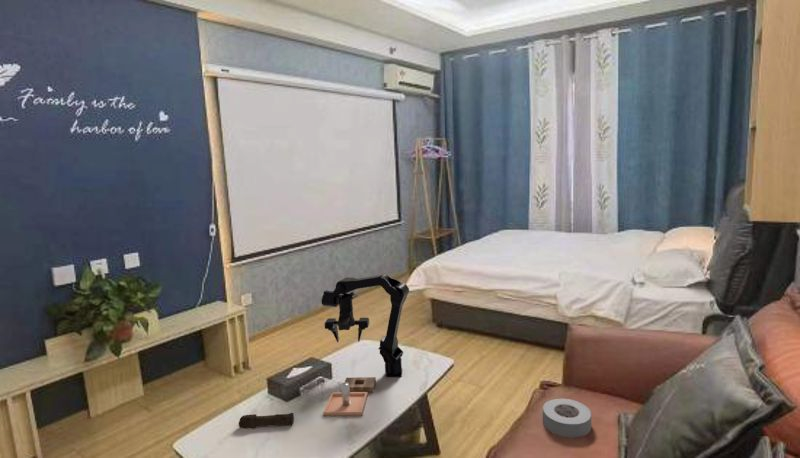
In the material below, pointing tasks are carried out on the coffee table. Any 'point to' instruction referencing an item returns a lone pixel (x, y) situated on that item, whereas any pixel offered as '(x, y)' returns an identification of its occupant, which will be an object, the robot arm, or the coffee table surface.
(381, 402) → the coffee table surface
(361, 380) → the clamp block
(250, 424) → the hand tool
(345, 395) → the metal pin
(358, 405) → the terracotta dish
